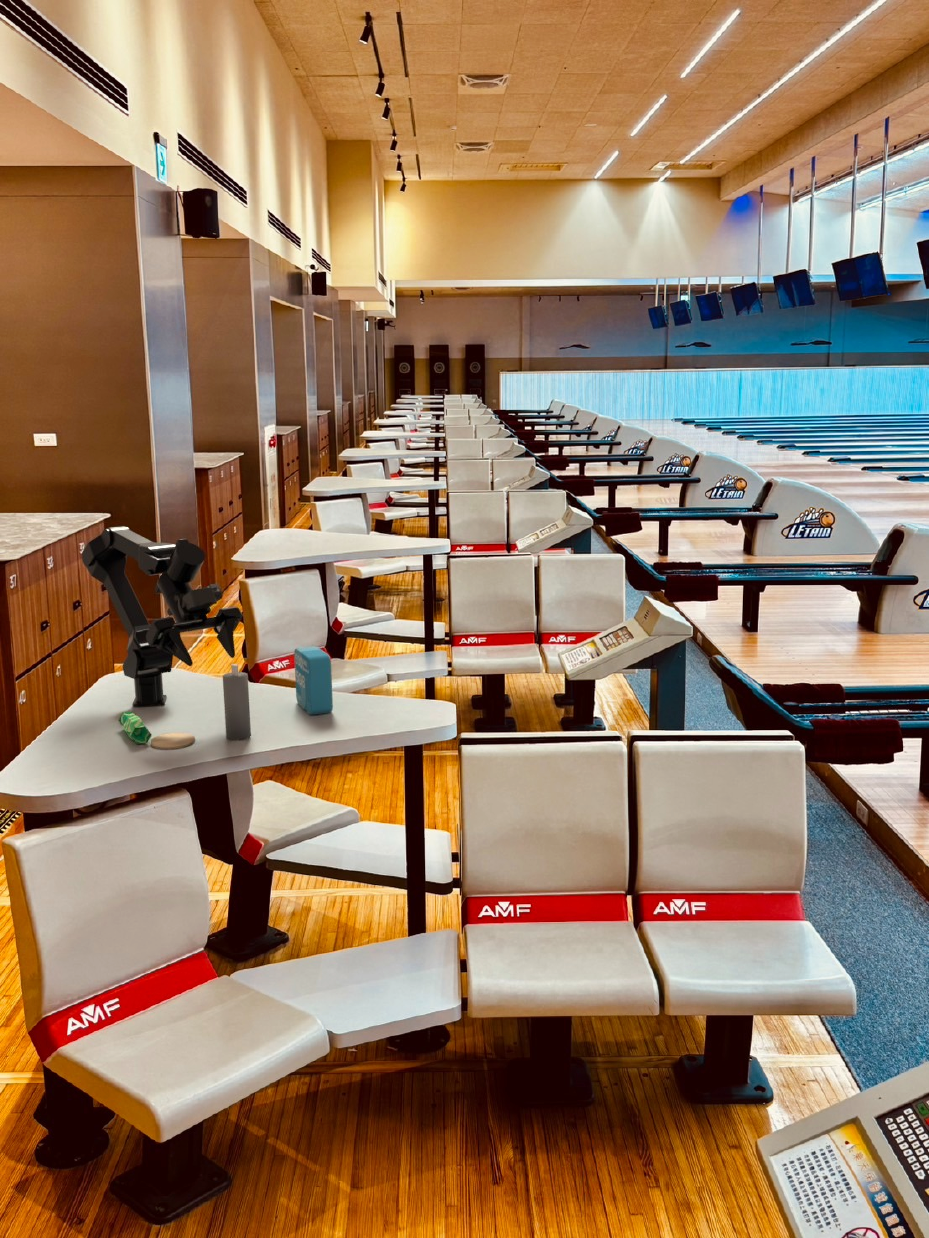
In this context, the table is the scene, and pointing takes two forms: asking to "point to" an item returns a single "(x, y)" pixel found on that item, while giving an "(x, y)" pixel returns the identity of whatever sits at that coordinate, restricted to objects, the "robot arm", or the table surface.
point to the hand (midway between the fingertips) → (212, 660)
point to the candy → (134, 727)
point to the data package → (313, 680)
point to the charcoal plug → (236, 704)
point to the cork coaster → (172, 740)
